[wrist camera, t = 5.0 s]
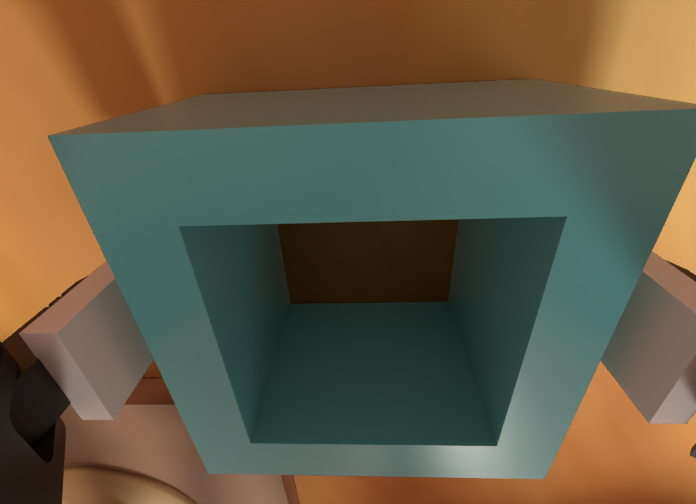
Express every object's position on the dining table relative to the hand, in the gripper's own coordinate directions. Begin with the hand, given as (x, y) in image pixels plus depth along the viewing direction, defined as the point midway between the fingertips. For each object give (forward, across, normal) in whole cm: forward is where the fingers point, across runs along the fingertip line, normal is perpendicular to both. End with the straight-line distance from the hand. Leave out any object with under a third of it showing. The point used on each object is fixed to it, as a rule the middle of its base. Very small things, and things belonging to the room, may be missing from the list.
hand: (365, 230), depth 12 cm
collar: (0, 0, 0) cm, 0 cm away
